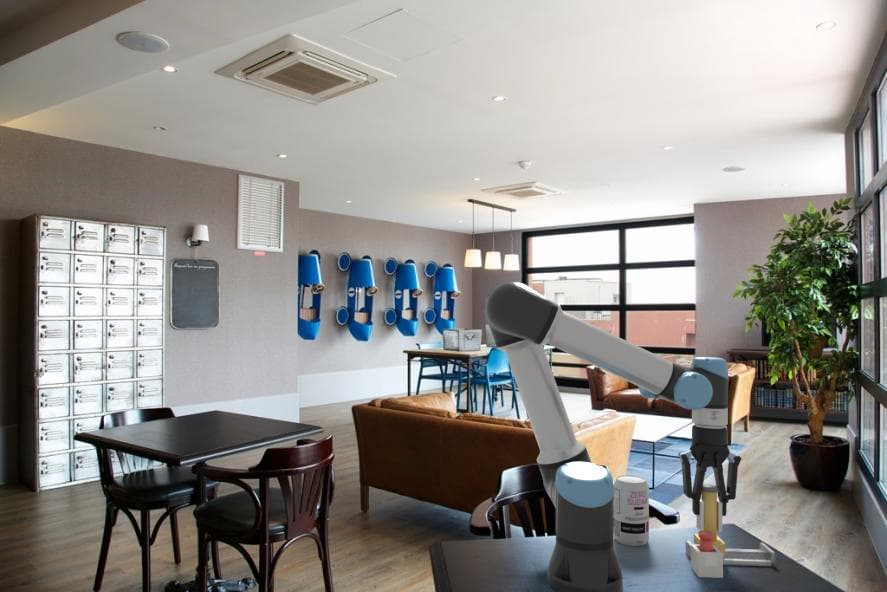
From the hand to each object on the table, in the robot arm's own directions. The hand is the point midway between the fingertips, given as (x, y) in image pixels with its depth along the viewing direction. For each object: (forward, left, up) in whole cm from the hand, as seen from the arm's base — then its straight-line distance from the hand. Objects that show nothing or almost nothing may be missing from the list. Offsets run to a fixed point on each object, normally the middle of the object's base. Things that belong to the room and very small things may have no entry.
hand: (709, 529), depth 141 cm
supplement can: (-15, +10, -7) cm, 19 cm away
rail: (+4, 0, -7) cm, 8 cm away
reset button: (-3, -7, -3) cm, 9 cm away
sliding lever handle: (0, 0, -5) cm, 5 cm away
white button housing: (-3, -7, -7) cm, 11 cm away
